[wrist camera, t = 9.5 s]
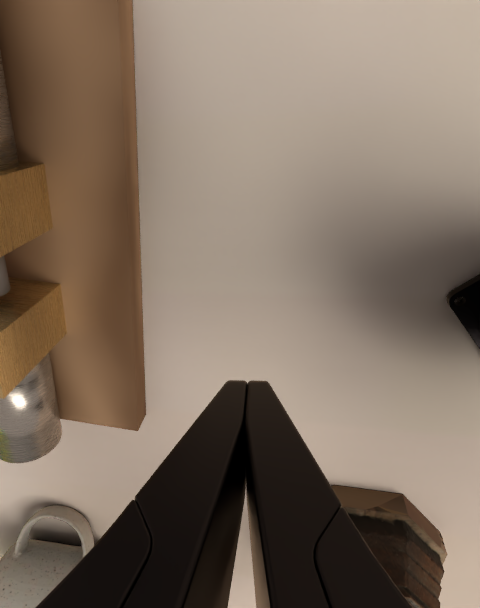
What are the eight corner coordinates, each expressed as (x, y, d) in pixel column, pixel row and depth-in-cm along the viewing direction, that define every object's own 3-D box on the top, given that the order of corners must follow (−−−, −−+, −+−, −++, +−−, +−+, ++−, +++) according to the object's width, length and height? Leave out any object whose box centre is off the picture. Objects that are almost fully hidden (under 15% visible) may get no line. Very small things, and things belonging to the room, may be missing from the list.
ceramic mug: (126, 583, 37) (88, 689, 30) (43, 573, 38) (-12, 673, 31) (107, 504, 32) (57, 608, 25) (13, 494, 33) (-58, 593, 26)
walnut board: (132, -1, 17) (117, -9, 15) (145, 414, 27) (137, 431, 26) (-143, -22, 18) (-179, -32, 16) (-28, 386, 28) (-45, 401, 26)
